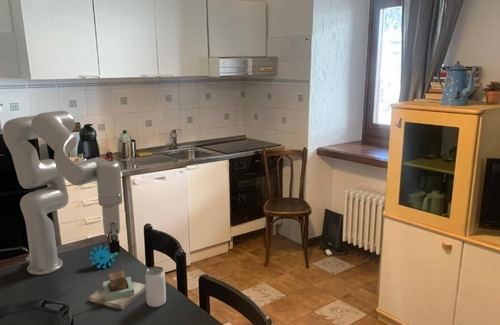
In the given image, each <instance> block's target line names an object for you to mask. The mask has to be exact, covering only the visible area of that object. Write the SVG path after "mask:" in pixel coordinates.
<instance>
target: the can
mask: <svg viewBox="0 0 500 325" xmlns="http://www.w3.org/2000/svg"><path fill="white" fill-rule="evenodd" d="M144 277H145V278H144V280H145V285H146V290H145V295H146V298H145V299H146V304H147V306H149V307H152V308H159V307H162V306H164V305H165V303H166V301H167V290H166V289H167V288H166V273H165V271H164V268H163V267H162V266H157V265H156V266H151V267H148V268H147V269H146V271H145V276H144Z"/></svg>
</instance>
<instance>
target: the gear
mask: <svg viewBox="0 0 500 325" xmlns="http://www.w3.org/2000/svg"><path fill="white" fill-rule="evenodd" d="M102 248H103V249H102ZM108 248H109V246H108V245H105V246H104V247H103V245H101V244H99V246H98V247H97V246H94V247H93V248H92V250H91V251H90V252H89V255H91V256H89V259H88V260H89V261H92V262H91V266H95V265H96V264H97V265H96V269H100V268H101V267H102V269H104V270H106V269H107V267H108V268H109V267H112V265H113V264H112V263H114V262H115V261H116V259H115V258H116V256H117V255H118V254H119V252H116V253H110V249H108ZM97 249H98V250H97ZM94 252H95V253H94ZM110 261H111V262H110ZM102 265H103V266H102Z"/></svg>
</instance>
